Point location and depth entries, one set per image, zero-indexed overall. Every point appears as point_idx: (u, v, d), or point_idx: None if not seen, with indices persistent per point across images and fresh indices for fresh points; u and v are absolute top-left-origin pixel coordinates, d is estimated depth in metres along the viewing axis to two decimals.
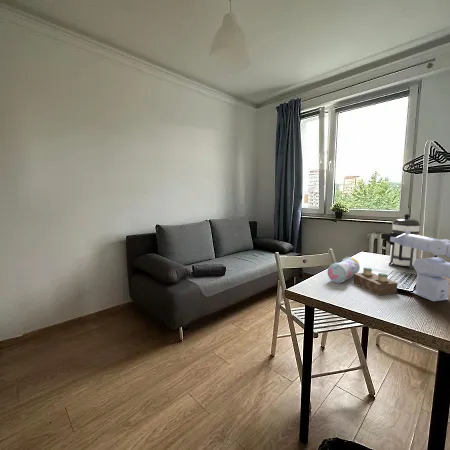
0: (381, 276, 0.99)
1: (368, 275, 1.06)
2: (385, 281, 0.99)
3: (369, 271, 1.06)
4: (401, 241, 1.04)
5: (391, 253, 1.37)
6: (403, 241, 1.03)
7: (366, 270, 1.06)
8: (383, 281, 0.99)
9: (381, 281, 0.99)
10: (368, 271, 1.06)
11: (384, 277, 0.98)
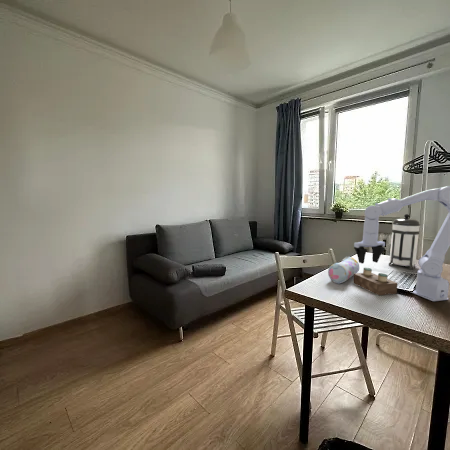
0: (381, 276, 0.99)
1: (368, 275, 1.06)
2: (385, 281, 0.99)
3: (369, 271, 1.06)
4: (365, 243, 1.05)
5: (391, 253, 1.37)
6: (365, 241, 1.05)
7: (366, 270, 1.06)
8: (383, 281, 0.99)
9: (381, 281, 0.99)
10: (368, 271, 1.06)
11: (384, 277, 0.98)
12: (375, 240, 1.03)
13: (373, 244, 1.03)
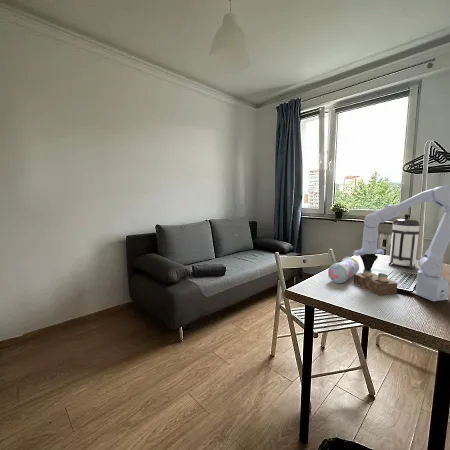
0: (381, 276, 0.99)
1: None
2: (385, 281, 0.99)
3: (369, 273, 1.06)
4: (364, 251, 1.05)
5: (391, 253, 1.37)
6: (365, 249, 1.05)
7: (366, 272, 1.07)
8: (383, 281, 0.99)
9: (381, 281, 0.99)
10: (368, 273, 1.06)
11: (384, 277, 0.98)
12: (374, 248, 1.04)
13: (372, 252, 1.04)
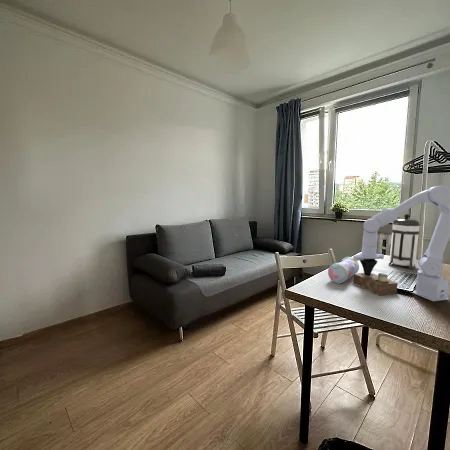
0: (381, 276, 0.99)
1: None
2: (385, 281, 0.99)
3: None
4: (364, 256, 1.05)
5: (391, 253, 1.37)
6: (364, 254, 1.05)
7: None
8: (383, 281, 0.99)
9: (381, 281, 0.99)
10: None
11: (384, 277, 0.98)
12: (374, 253, 1.04)
13: (372, 257, 1.04)
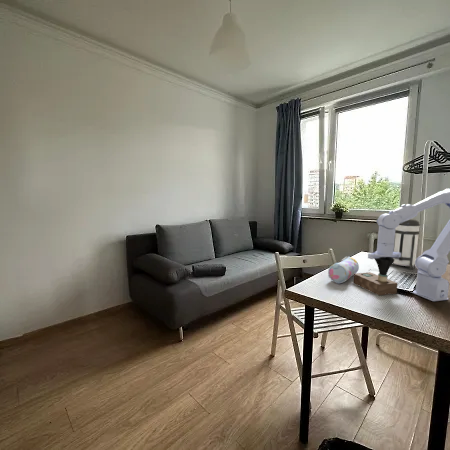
0: (381, 276, 0.99)
1: None
2: (385, 281, 0.99)
3: None
4: (380, 254, 0.97)
5: None
6: (380, 252, 0.97)
7: None
8: (383, 281, 0.99)
9: (381, 281, 0.99)
10: None
11: (384, 277, 0.98)
12: (391, 251, 0.96)
13: (389, 255, 0.96)
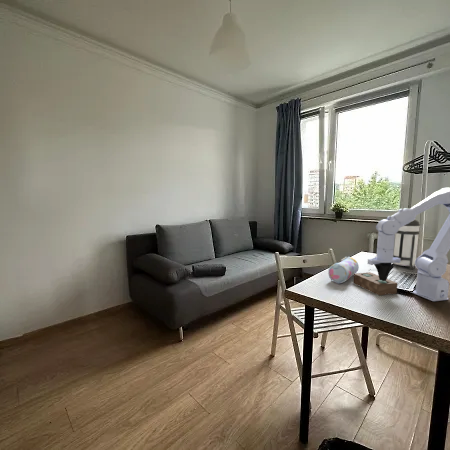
0: None
1: None
2: None
3: None
4: (379, 260, 0.98)
5: None
6: (380, 258, 0.98)
7: None
8: None
9: None
10: None
11: None
12: (390, 257, 0.96)
13: (388, 261, 0.96)
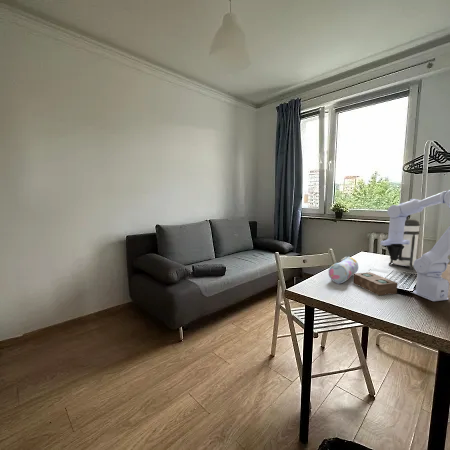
0: None
1: None
2: None
3: None
4: (391, 241, 1.09)
5: None
6: (391, 239, 1.09)
7: None
8: None
9: None
10: None
11: None
12: (401, 238, 1.07)
13: (399, 242, 1.07)
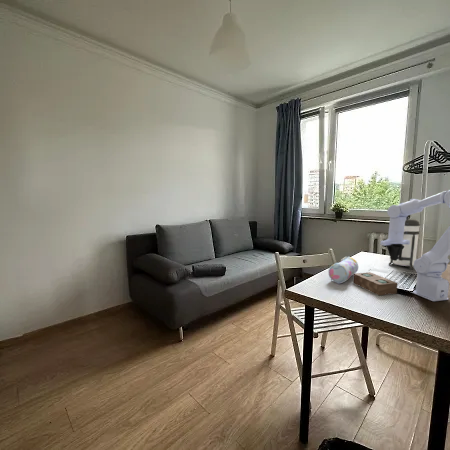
0: None
1: None
2: None
3: None
4: (391, 241, 1.09)
5: None
6: (391, 239, 1.09)
7: None
8: None
9: None
10: None
11: None
12: (401, 238, 1.07)
13: (399, 242, 1.07)
